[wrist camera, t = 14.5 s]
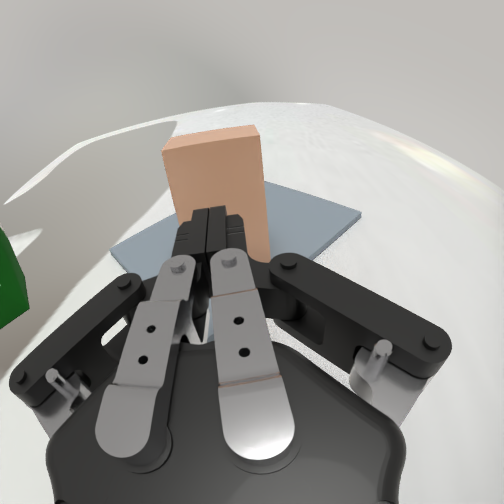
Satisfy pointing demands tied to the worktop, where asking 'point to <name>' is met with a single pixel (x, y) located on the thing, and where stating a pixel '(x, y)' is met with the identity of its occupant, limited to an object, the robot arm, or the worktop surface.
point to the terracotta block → (221, 179)
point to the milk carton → (10, 283)
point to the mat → (279, 227)
